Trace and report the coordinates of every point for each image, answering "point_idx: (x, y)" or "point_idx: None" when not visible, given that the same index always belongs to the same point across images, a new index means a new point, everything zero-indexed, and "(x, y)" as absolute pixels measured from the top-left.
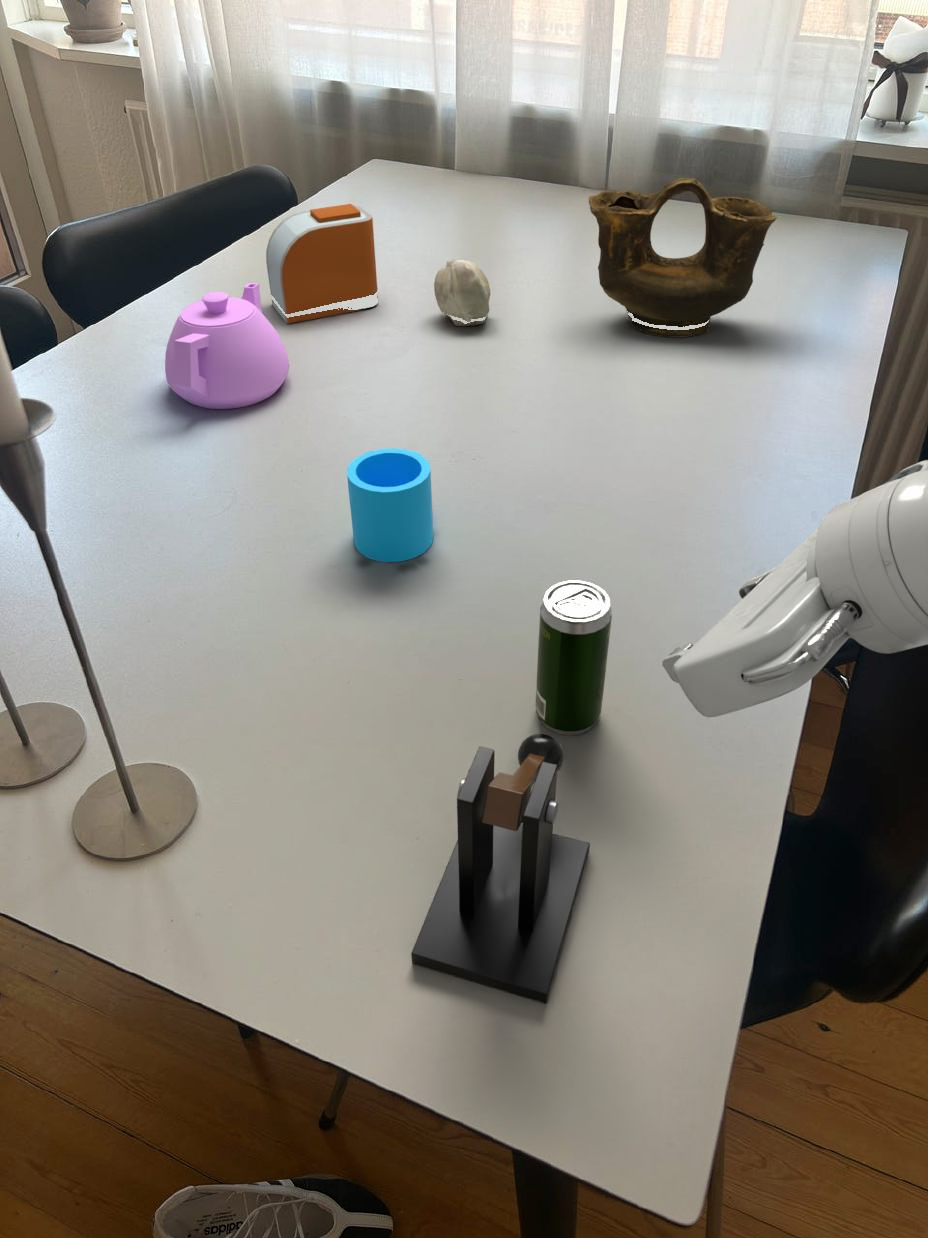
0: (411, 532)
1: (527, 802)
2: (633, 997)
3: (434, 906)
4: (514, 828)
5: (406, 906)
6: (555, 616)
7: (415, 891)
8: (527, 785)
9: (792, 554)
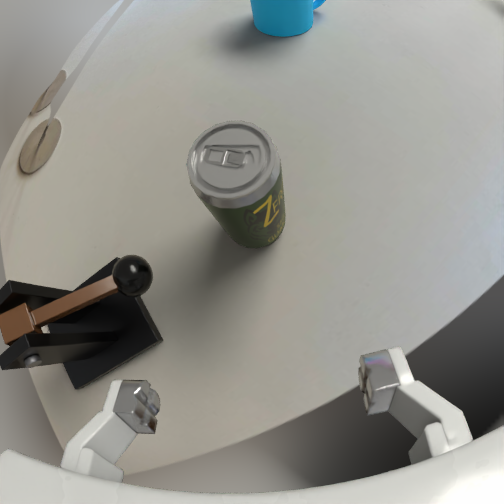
0: (279, 19)
1: None
2: None
3: None
4: None
5: (65, 284)
6: (187, 164)
7: (73, 279)
8: (20, 335)
9: (401, 499)
